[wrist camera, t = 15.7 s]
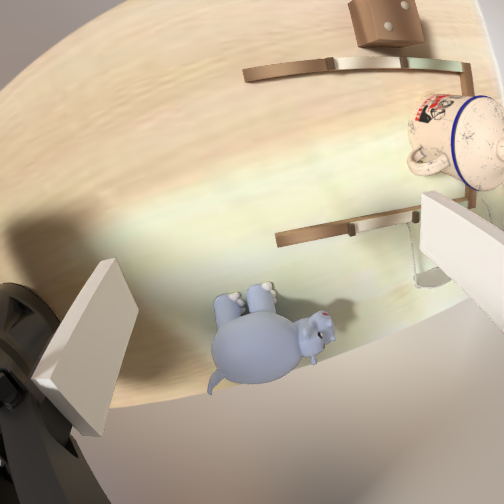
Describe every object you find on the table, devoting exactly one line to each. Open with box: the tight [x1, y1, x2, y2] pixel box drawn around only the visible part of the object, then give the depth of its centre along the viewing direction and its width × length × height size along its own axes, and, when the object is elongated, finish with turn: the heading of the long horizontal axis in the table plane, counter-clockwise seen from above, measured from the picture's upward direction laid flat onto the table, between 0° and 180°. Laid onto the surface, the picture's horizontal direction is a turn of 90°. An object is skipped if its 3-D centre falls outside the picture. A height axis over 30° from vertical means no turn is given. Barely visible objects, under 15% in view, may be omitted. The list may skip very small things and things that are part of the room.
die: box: [348, 0, 425, 48], centre depth 21 cm, size 5×5×5 cm
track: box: [242, 56, 476, 247], centre depth 28 cm, size 26×18×2 cm
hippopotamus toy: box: [207, 282, 335, 395], centre depth 34 cm, size 11×15×10 cm
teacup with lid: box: [407, 94, 504, 191], centre depth 23 cm, size 12×9×12 cm
